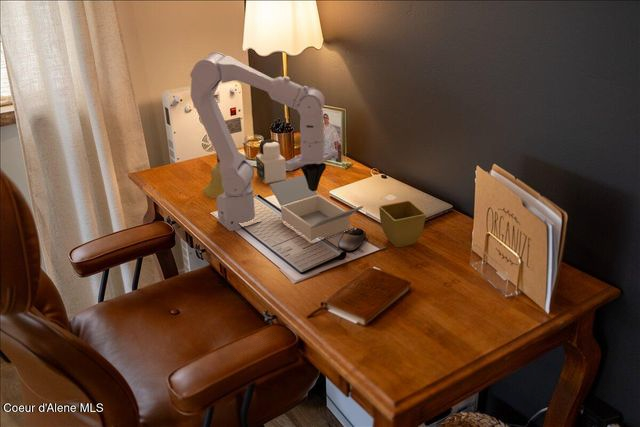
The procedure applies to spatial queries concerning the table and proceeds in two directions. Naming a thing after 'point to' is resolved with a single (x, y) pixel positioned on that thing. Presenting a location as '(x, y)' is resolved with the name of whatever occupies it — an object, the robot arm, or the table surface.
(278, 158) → the medicine bottle
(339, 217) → the near flap
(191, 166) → the table surface
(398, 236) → the flower pot
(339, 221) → the storage box
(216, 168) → the handbell
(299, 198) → the far flap
